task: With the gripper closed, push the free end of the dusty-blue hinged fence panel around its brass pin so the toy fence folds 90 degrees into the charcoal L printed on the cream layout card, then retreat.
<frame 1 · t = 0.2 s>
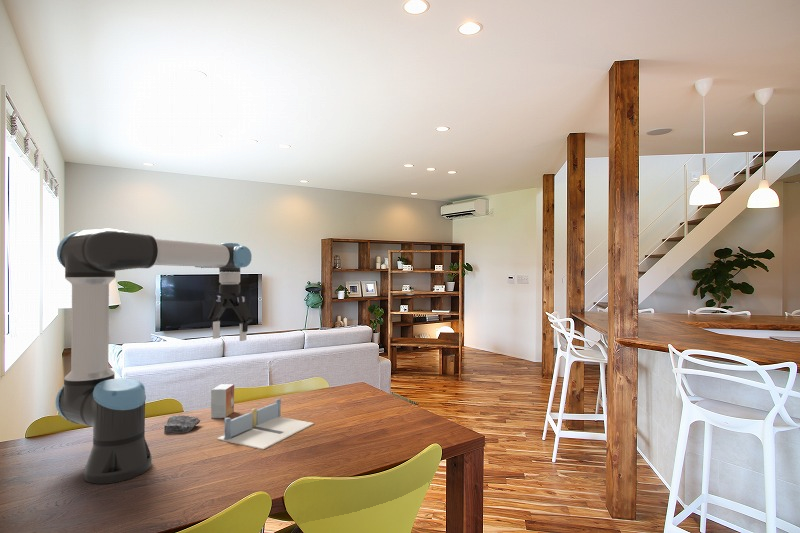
hand: (229, 339, 168), 28 cm above the table, fingers open, 13 cm apart
fixed fence panel: (239, 434, 144), resting on layout card
layout card: (267, 431, 147), on the table
rock: (180, 430, 149), on the table
small box: (222, 415, 164), on the table
swing fence panel: (266, 412, 155), point 4 cm above the table, hinge at 0.0°
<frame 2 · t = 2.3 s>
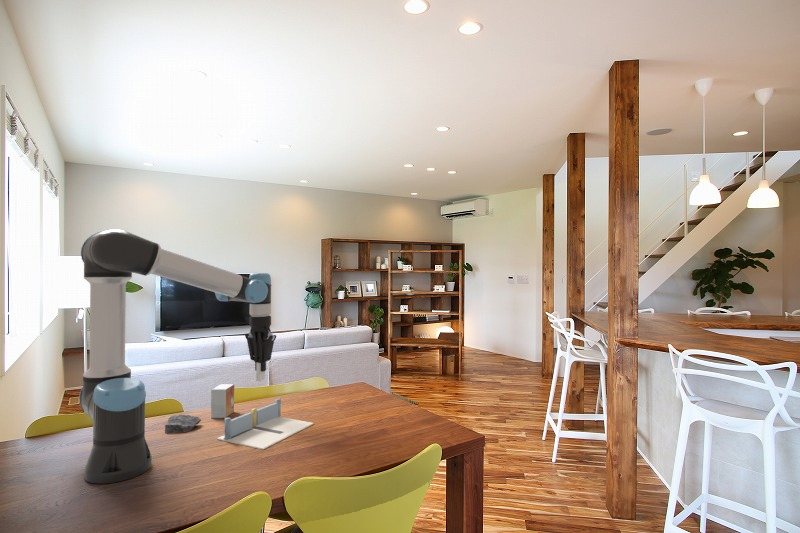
hand: (260, 380, 161), 14 cm above the table, fingers closed
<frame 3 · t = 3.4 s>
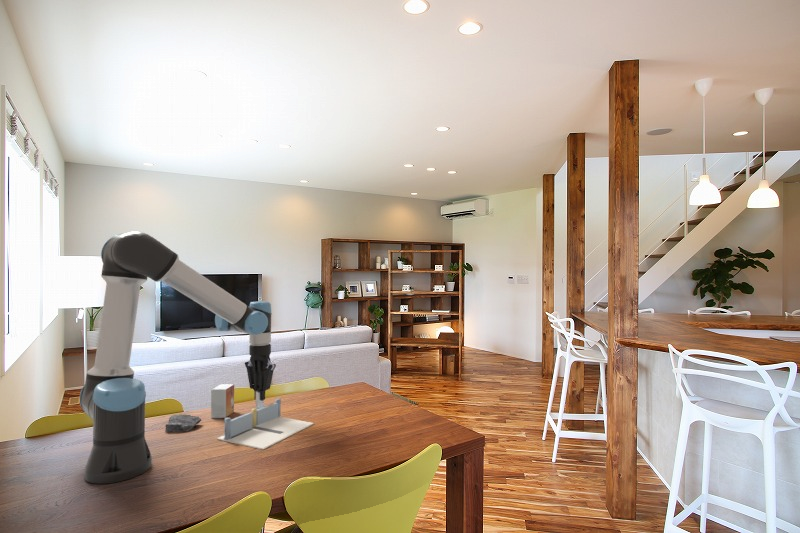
hand: (259, 408, 160), 3 cm above the table, fingers closed
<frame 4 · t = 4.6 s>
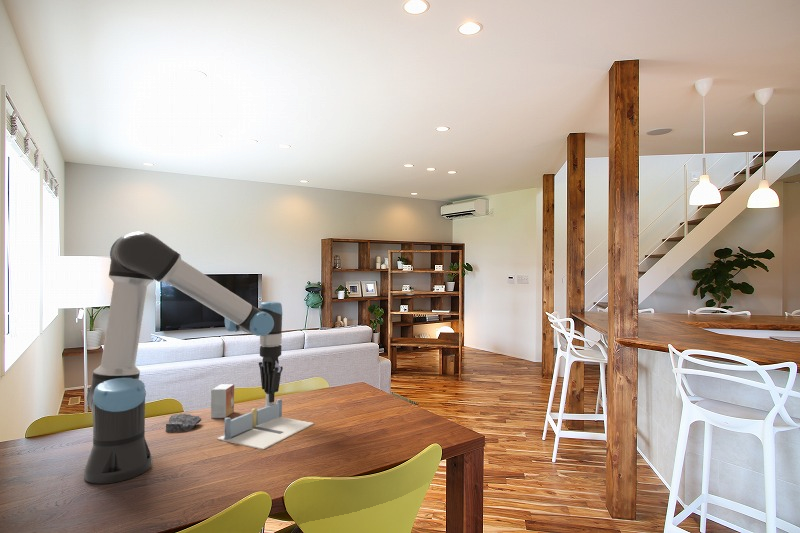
hand: (269, 410, 158), 3 cm above the table, fingers closed
swing fence panel: (267, 412, 155), point 4 cm above the table, hinge at -3.2°, touching gripper
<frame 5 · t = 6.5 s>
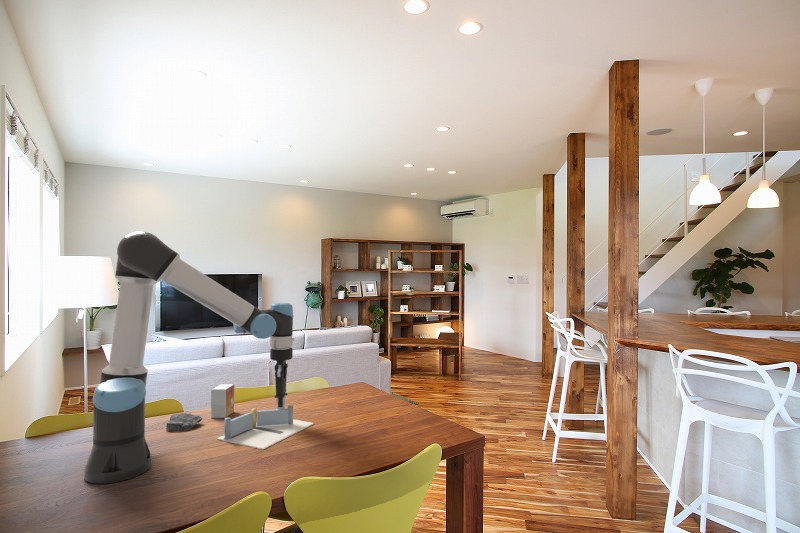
hand: (280, 415, 153), 3 cm above the table, fingers closed
swing fence panel: (272, 416, 151), point 4 cm above the table, hinge at -50.4°, touching gripper
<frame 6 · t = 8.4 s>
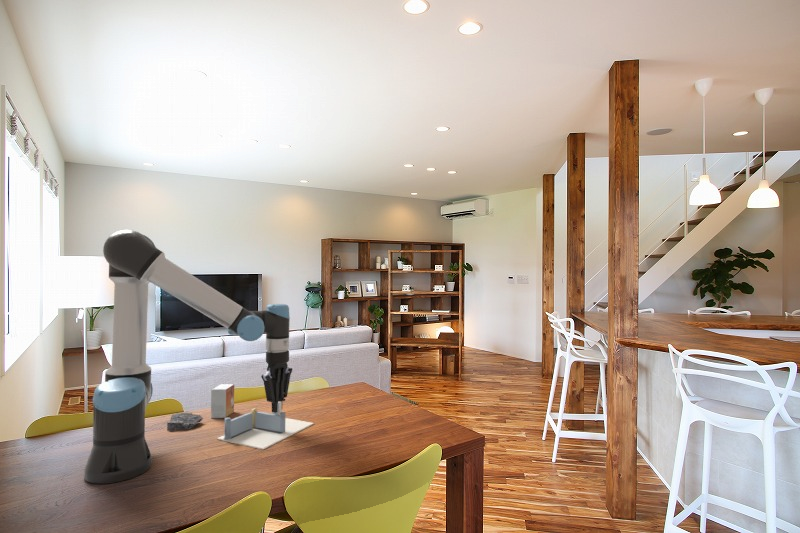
hand: (276, 421, 147), 3 cm above the table, fingers closed
swing fence panel: (268, 419, 147), point 4 cm above the table, hinge at -88.5°, touching gripper
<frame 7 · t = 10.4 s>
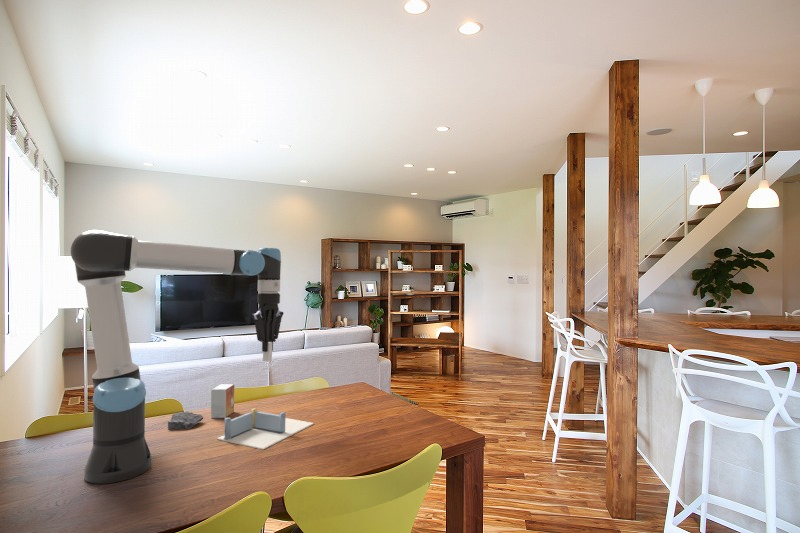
hand: (267, 360, 152), 23 cm above the table, fingers closed
swing fence panel: (268, 419, 147), point 4 cm above the table, hinge at -88.5°
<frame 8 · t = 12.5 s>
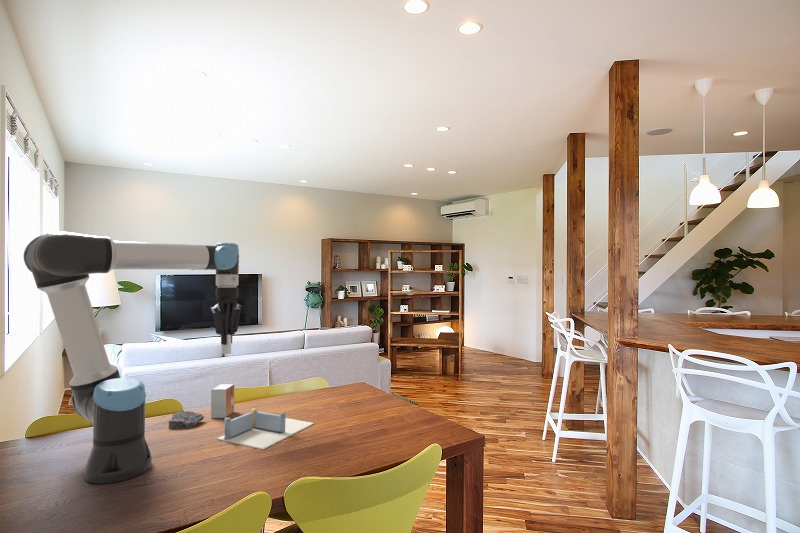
hand: (226, 353, 156), 24 cm above the table, fingers closed
at the end: swing fence panel at -88° (first picture: +0°) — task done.
